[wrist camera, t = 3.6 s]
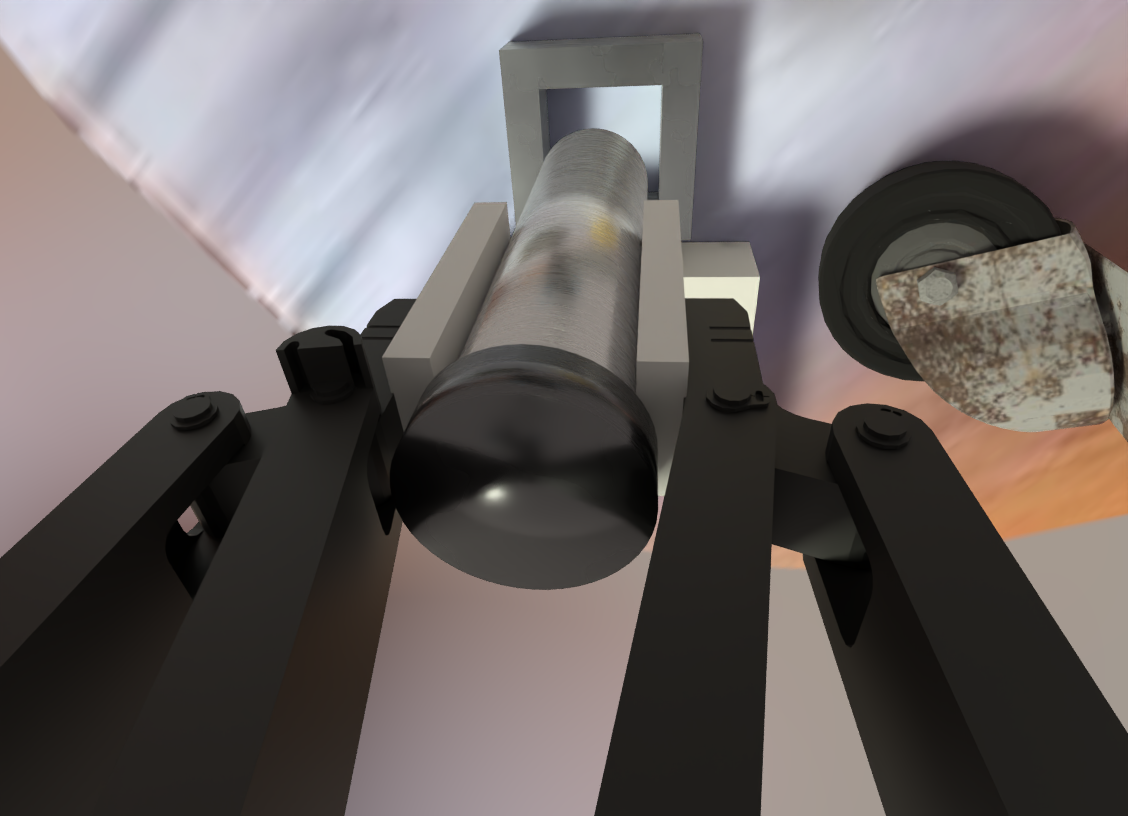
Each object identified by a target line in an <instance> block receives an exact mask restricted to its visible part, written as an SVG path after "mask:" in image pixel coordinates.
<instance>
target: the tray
mask: <svg viewBox="0 0 1128 816" xmlns="http://www.w3.org/2000/svg"><path fill="white" fill-rule="evenodd" d="M681 247H682V263H683V278H684V293H685V298H734V299H735V300H736V301H737V302H738V303H739V304H740V305H741V306H742V307H743V308H744V309H745V310H746V311H747V312H748V316H749V321H750V326H751V330H752V335H753V327H754V320H755V312H756V304H757V296H758V289H759V281H760V275H759V272H758V269H757V265H756V262H755V259H754V255H753V252H752V249H751V246H750V242H681Z"/></svg>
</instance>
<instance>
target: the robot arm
mask: <svg viewBox="0 0 1128 816" xmlns="http://www.w3.org/2000/svg"><path fill="white" fill-rule="evenodd" d="M510 239H511V237H510V228H509V219H508V210H507V202H491V203H474V204H473V206H472V208H471V209H470V211H469V213H468V214H467V216H466V218H465V219H464V221H463V223H462V224H461V226H460V228H459V229H458V231H457V233H456V234H455V236H454V238H453V240H452V241H451V243H450V245H449V246H448V248H447V250H446V251H445V253H444V255H443V256H442V258H441V260H440V261H439V263H438V265H437V266H436V268H435V270H434V271H433V273H432V275H431V276H430V278H429V280H428V281H427V283H426V285H425V286H424V288H423V290H422V291H421V293H420V295H419V296H418V298H417V299H394V300H392V301H391V302H389V303H388V304H386V305H385V306H383V307H382V308H380V309H379V310H377V311H376V312H375V314H374V315H373V317H372V318H371V320H370V321H369V323H368V324H367V328H365V329H364V330H363V332H362V333H361V335H360V334H359V333H358V332H357V331H356V330H354V329H351V328H348V327H345V326H324V327H318V328H312V329H309V330H306V331H303V332H300V333H298V334H295V335H294V336H292V337H290V338H289V339H287V340H285V341H284V342H283V343H282V344H281V345H280V346H279V347H278V348H277V349H276V352H277V355H278V358H279V360H280V363H281V366H282V369H283V371H284V374H285V377H286V380H287V382H288V385H289V388H290V390H291V393H292V394H291V397H290V399H289V401H288V403H287V405H286V406H283V407H279V408H273V409H268V410H262V411H257V412H251V413H246V414H245V412H244V410H243V408H242V405H241V403H240V401H239V400H238V399H237V398H236V397H235V396H234V395H233V394H230V393H226V392H221V391H217V392H202V393H197V394H193V395H190V396H186V397H185V398H183V399H181V400H179V401H177V402H175V403H172V404H171V405H169V406H168V407H167V408H165V409H164V410H162V411H161V412H160V413H158V414H157V415H156V416H155V417H154V418H153V419H152V420H151V421H150V422H148V423H147V424H146V425H145V426H144V427H143V428H142V429H141V430H140V431H139V432H138V433H136V434H135V435H134V436H133V437H132V438H131V439H130V440H129V441H128V442H127V443H126V444H124V445H123V446H122V447H121V448H120V449H119V450H118V451H117V452H116V453H115V454H114V455H112V456H111V457H110V458H109V459H108V460H107V461H106V462H105V463H104V464H103V465H102V466H100V467H99V468H98V469H97V470H96V471H95V472H94V473H93V474H92V475H91V476H90V477H88V478H87V479H86V480H85V481H84V482H83V483H82V484H81V485H80V486H79V487H78V488H76V489H75V490H74V491H73V492H72V493H71V494H70V495H69V496H68V497H67V498H65V500H63V501H62V502H61V503H60V504H59V505H58V506H57V507H56V508H55V509H54V510H52V511H51V512H50V513H49V514H48V515H47V516H46V517H45V518H44V519H43V520H42V521H40V522H39V523H38V524H37V525H36V526H35V527H34V528H33V529H32V530H31V531H29V532H28V534H26V535H25V536H24V537H23V538H22V539H21V540H20V541H19V542H17V543H16V544H15V545H14V546H13V547H12V548H11V549H10V550H9V551H8V552H7V553H6V554H4V555H3V556H2V557H1V558H0V816H344V815H345V810H346V804H347V799H348V795H349V790H350V784H351V780H352V774H353V769H354V764H355V759H356V754H357V749H358V744H359V739H360V734H361V729H362V723H363V719H364V714H365V708H366V703H367V698H368V693H369V688H370V683H371V678H372V673H373V668H374V663H375V658H376V653H377V648H378V643H379V638H380V633H381V628H382V622H383V618H384V613H385V607H386V602H387V597H388V591H389V587H390V582H391V577H392V572H393V567H394V562H395V557H396V552H397V547H398V541H399V537H400V531H401V527H402V519H401V517H400V515H399V514H398V512H397V509H396V507H395V504H394V502H393V499H392V494H391V489H390V468H391V461H392V459H393V456H394V453H395V450H396V448H397V446H398V444H399V442H400V439H401V437H402V435H403V433H404V431H405V429H406V427H407V425H408V423H409V420H410V418H411V416H412V414H413V412H414V410H415V408H416V406H417V404H418V402H419V399H420V397H421V396H422V394H423V392H424V390H425V389H426V387H427V385H428V384H429V383H430V382H431V381H432V379H433V378H434V377H435V376H436V375H437V374H438V373H439V372H440V371H442V370H443V369H444V368H445V367H446V366H448V365H449V364H451V363H453V362H454V361H456V360H457V359H459V358H460V356H461V353H462V351H463V349H464V346H465V344H466V342H467V339H468V337H469V335H470V332H471V330H472V328H473V326H474V323H475V321H476V319H477V316H478V314H479V312H480V309H481V307H482V305H483V302H484V300H485V298H486V295H487V293H488V291H489V288H490V286H491V284H492V281H493V279H494V277H495V274H496V272H497V270H498V267H499V265H500V263H501V260H502V258H503V256H504V253H505V251H506V249H507V246H508V244H509V242H510ZM636 395H637V396H638V397H639V399H640V400H641V401H642V403H643V404H644V406H645V408H646V409H647V411H648V413H649V414H650V417H651V419H652V422H653V424H654V427H655V431H656V436H657V442H658V496H664V501H663V505H662V510H661V514H660V519H659V524H658V528H657V533H656V537H655V542H654V546H653V551H652V555H651V560H650V564H649V569H648V574H647V578H646V583H645V587H644V592H643V597H642V601H641V606H640V610H639V614H638V619H637V624H636V628H635V633H634V637H633V642H632V647H631V651H630V655H629V660H628V664H627V669H626V674H625V678H624V683H623V687H622V692H621V696H620V701H619V706H618V710H617V715H616V719H615V724H614V728H613V733H612V737H611V742H610V746H609V751H608V755H607V760H606V765H605V769H604V774H603V778H602V783H601V788H600V792H599V797H598V801H597V805H596V810H595V815H594V816H760V814H761V791H762V766H763V742H764V718H765V691H766V669H767V644H768V643H767V642H768V619H769V618H768V617H769V594H770V570H771V547H772V544H773V545H777V546H780V547H783V548H787V549H790V550H793V551H796V552H800V553H803V561H804V564H805V567H806V570H807V573H808V576H809V579H810V582H811V585H812V588H813V591H814V595H815V598H816V601H817V604H818V607H819V610H820V613H821V616H822V619H823V623H824V625H825V629H826V632H827V635H828V638H829V641H830V644H831V647H832V650H833V653H834V656H835V660H836V663H837V666H838V669H839V672H840V675H841V678H842V681H843V684H844V687H845V691H846V693H847V697H848V700H849V703H850V706H851V709H852V712H853V715H854V718H855V721H856V724H857V728H858V731H859V734H860V737H861V740H862V743H863V746H864V749H865V752H866V755H867V758H868V762H869V765H870V768H871V771H872V774H873V777H874V780H875V783H876V786H877V789H878V792H879V796H880V798H881V802H882V805H883V808H884V811H885V814H886V816H1128V733H1127V731H1126V730H1125V728H1124V727H1123V725H1122V724H1121V722H1120V720H1119V719H1118V717H1117V716H1116V714H1115V713H1114V711H1113V710H1112V708H1111V707H1110V705H1109V704H1108V702H1107V700H1106V699H1105V698H1104V696H1103V695H1102V693H1101V691H1100V690H1099V688H1098V686H1097V685H1096V683H1095V682H1094V680H1093V679H1092V677H1091V676H1090V674H1089V673H1088V671H1087V669H1086V668H1085V666H1084V665H1083V663H1082V662H1081V660H1080V659H1079V657H1078V656H1077V654H1076V652H1075V651H1074V649H1073V648H1072V646H1071V645H1070V643H1069V642H1068V640H1067V638H1066V637H1065V635H1064V634H1063V632H1062V631H1061V629H1060V628H1059V626H1058V625H1057V623H1056V621H1055V620H1054V618H1053V617H1052V615H1051V614H1050V612H1049V611H1048V609H1047V608H1046V606H1045V605H1044V603H1043V601H1042V600H1041V598H1040V597H1039V595H1038V594H1037V592H1036V590H1035V589H1034V588H1033V586H1032V584H1031V583H1030V581H1029V580H1028V578H1027V577H1026V575H1025V573H1024V572H1023V570H1022V569H1021V567H1020V566H1019V564H1018V563H1017V561H1016V560H1015V558H1014V557H1013V555H1012V553H1011V552H1010V550H1009V549H1008V547H1007V546H1006V544H1005V543H1004V541H1003V539H1002V538H1001V536H1000V535H999V533H998V532H997V530H996V529H995V527H994V526H993V524H992V522H991V521H990V519H989V518H988V516H987V515H986V513H985V512H984V510H983V508H982V507H981V505H980V504H979V502H978V501H977V499H976V498H975V496H974V495H973V493H972V491H971V490H970V488H969V487H968V485H967V484H966V482H965V481H964V479H963V478H962V476H961V474H960V473H959V471H958V470H957V468H956V467H955V465H954V464H953V462H952V461H951V459H950V457H949V456H948V454H947V453H946V451H945V450H944V448H943V447H942V445H941V443H940V442H939V440H938V439H937V437H936V436H935V434H934V433H933V431H932V430H931V429H930V428H929V427H928V426H927V425H926V424H925V423H924V422H923V421H922V420H921V419H919V418H917V417H916V416H914V415H912V414H910V413H908V412H907V411H904V410H901V409H898V408H894V407H891V406H888V405H880V404H868V403H867V404H860V405H853V406H849V407H847V408H846V409H844V410H842V411H840V412H838V414H837V415H836V417H835V418H834V420H833V422H832V424H829V423H825V422H821V421H816V420H812V419H808V418H804V417H801V416H798V415H795V414H793V413H790V412H788V411H786V410H784V409H782V408H781V407H780V406H778V405H777V401H776V398H775V395H774V393H773V392H772V391H771V390H770V389H769V388H768V387H767V386H766V385H764V384H763V381H762V377H761V372H760V368H759V363H758V358H757V354H756V349H755V344H754V342H753V335H752V330H751V326H750V321H749V316H748V312H747V311H746V310H745V309H744V308H743V307H742V306H741V305H740V304H739V303H738V302H737V301H736V300H735V299H734V298H685V293H684V278H683V263H682V247H681V232H680V217H679V202H678V200H644V214H643V235H642V256H641V278H640V299H639V320H638V342H637V367H636ZM189 506H191V508H192V510H193V512H194V513H195V515H196V517H197V519H198V521H199V522H198V523H197V524H196V526H195V527H194V528H193V529H191V530H190V531H189V532H188V533H186V532H184V531H183V529H182V527H181V526H180V524H179V522H178V518H179V517H180V516H181V515H182V514H183V513H184V512H185V510H186V509H187V508H188V507H189Z"/></svg>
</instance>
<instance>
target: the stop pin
mask: <svg viewBox="0 0 1128 816" xmlns="http://www.w3.org/2000/svg"><path fill="white" fill-rule="evenodd" d="M647 189H648V180H647V172H646V168H645V165H644V162H643V160H642V158H641V156H640V154H639V153H638V151H637V150H636V149H635V148H634V146H633V145H632V144H631V143H630V142H628V141H627V140H626V139H625V138H623V137H622V136H620V135H618V134H616V133H614V132H611V131H608V130H603V129H594V128H591V129H583V130H579V131H576V132H573V133H570V134H569V135H567V136H565V137H564V138H562V139H561V140H560V141H558V142H557V143H556V144H555V145H554V146H553V147H552V149H551V150H550V151H549V153H548V155H547V156H546V158H545V160H544V163H543V165H542V167H541V170H540V172H539V174H538V177H537V179H536V181H535V184H534V186H533V188H532V191H531V193H530V195H529V198H528V200H527V202H526V205H525V207H524V209H523V212H522V214H521V216H520V219H519V221H518V223H517V225H516V228H515V230H514V232H513V235H512V237H511V239H510V242H509V244H508V246H507V249H506V251H505V253H504V256H503V258H502V260H501V263H500V265H499V267H498V270H497V272H496V274H495V277H494V279H493V281H492V284H491V286H490V288H489V291H488V293H487V295H486V298H485V300H484V302H483V305H482V307H481V309H480V312H479V314H478V316H477V319H476V321H475V323H474V326H473V328H472V330H471V332H470V335H469V337H468V339H467V342H466V344H465V346H464V349H463V351H462V353H461V356H460V358H459V359H457V360H456V361H454V362H453V363H451V364H449V365H448V366H446V367H445V368H444V369H443V370H442V371H440V372H439V373H438V374H437V375H436V376H435V377H434V378H433V379H432V381H431V382H430V383H429V384H428V385H427V387H426V389H425V390H424V392H423V394H422V396H421V397H420V399H419V402H418V404H417V406H416V408H415V410H414V412H413V414H412V416H411V418H410V420H409V423H408V425H407V427H406V429H405V431H404V433H403V435H402V437H401V439H400V442H399V444H398V446H397V448H396V450H395V453H394V456H393V459H392V461H391V468H390V489H391V494H392V499H393V502H394V504H395V507H396V509H397V512H398V514H399V515H400V517H401V519H402V521H403V522H404V524H405V525H406V527H407V528H408V529H409V531H410V532H411V533H412V534H413V535H414V536H415V537H416V539H418V541H419V542H420V543H421V544H422V545H423V546H425V547H426V548H427V549H428V550H429V551H430V552H432V553H433V554H434V555H436V556H437V557H439V558H440V559H441V560H443V561H445V562H446V563H448V564H450V565H451V566H453V567H455V568H457V569H458V570H461V571H463V572H465V573H467V574H469V575H472V576H474V577H477V578H480V579H483V580H486V581H489V582H493V583H496V584H500V585H505V586H510V587H516V588H525V589H539V590H551V589H564V588H570V587H577V586H581V585H585V584H588V583H592V582H595V581H598V580H600V579H603V578H605V577H608V576H610V575H612V574H613V573H615V572H617V571H619V570H620V569H621V568H623V567H625V566H626V565H627V564H629V563H630V562H631V561H632V560H633V559H634V558H635V557H636V556H638V555H639V554H640V552H641V551H642V550H643V549H644V547H645V546H646V545H647V543H648V541H649V539H650V537H651V536H652V534H653V531H654V528H655V525H656V521H657V514H658V442H657V436H656V431H655V427H654V424H653V422H652V419H651V417H650V414H649V413H648V411H647V409H646V408H645V406H644V404H643V403H642V401H641V400H640V399H639V397H638V396H637V395H636V367H637V342H638V320H639V299H640V278H641V256H642V235H643V214H644V200H647Z"/></svg>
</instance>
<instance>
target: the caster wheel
mask: <svg viewBox="0 0 1128 816" xmlns="http://www.w3.org/2000/svg"><path fill="white" fill-rule="evenodd" d="M818 280H819V300H820V306H821V309H822V313H823V316H824V320H825V323H826V325H827V326H828V328H829V330H830V332H831V334H832V336H833V338H834V339H835V340H836V341H837V343H838V344H839V345H840V346H841V348H842V349H843V350H844V351H845V352H846V353H848V354H849V355H850V356H851V357H852V358H853V359H855V360H856V361H858V362H859V363H860V364H862V365H864V366H865V367H867V368H869V369H872V370H874V371H876V372H879V373H881V374H883V375H887V376H891V377H895V378H898V379H902V380H912V381H925V382H926V383H927V384H928V385H929V386H930V388H931V389H932V390H933V391H934V392H935V393H936V394H938V395H939V396H940V397H941V398H942V399H944V400H945V401H946V402H947V403H949V404H950V405H952V406H953V407H955V408H956V409H958V410H959V411H961V412H963V413H965V414H966V415H968V416H970V417H972V418H974V419H977V420H979V421H982V422H984V423H987V424H990V425H993V426H997V427H1000V428H1004V429H1009V430H1014V431H1022V432H1040V431H1048V430H1056V429H1065V428H1073V427H1081V426H1089V425H1097V424H1101V423H1104V422H1105V421H1107V420H1108V419H1110V421H1111V422H1112V423H1113V424H1114V426H1115V427H1116V428H1117V429H1118V431H1119V432H1120V433H1121V434H1122V435H1123V437H1124V438H1125V439H1126V440H1127V442H1128V273H1127V272H1126V271H1124V270H1123V269H1122V268H1120V267H1119V266H1117V265H1116V264H1114V263H1113V262H1111V261H1110V260H1109V259H1107V258H1106V257H1104V256H1103V255H1101V254H1100V253H1098V252H1097V251H1095V250H1094V249H1093V248H1091V247H1090V246H1088V245H1087V244H1085V243H1084V242H1083V241H1082V239H1081V237H1080V235H1079V233H1078V231H1077V229H1076V227H1075V225H1074V224H1073V223H1072V222H1071V221H1068V220H1066V219H1060V218H1054V217H1053V215H1052V214H1051V212H1050V210H1049V208H1048V207H1047V206H1046V205H1045V204H1044V203H1043V202H1042V201H1041V200H1040V199H1039V198H1038V197H1036V196H1035V195H1034V194H1033V193H1032V192H1031V191H1030V190H1028V189H1027V188H1025V187H1024V186H1023V185H1021V184H1020V183H1018V182H1017V181H1015V180H1014V179H1012V178H1010V177H1008V176H1006V175H1004V174H1002V173H1000V172H998V171H996V170H994V169H992V168H989V167H985V166H982V165H978V164H975V163H968V162H960V161H935V162H926V163H922V164H918V165H914V166H911V167H907V168H905V169H902V170H900V171H897V172H895V173H892V174H890V175H888V176H885V177H884V178H882V179H881V180H879V181H878V182H876V183H874V184H873V185H871V186H870V187H868V188H866V189H865V190H864V191H863V192H862V193H860V194H859V195H858V196H857V197H856V198H855V199H853V200H852V201H851V202H850V204H849V205H848V206H847V207H846V208H845V210H844V211H843V212H842V213H841V214H840V215H839V217H838V218H837V220H836V222H835V224H834V225H833V227H832V229H831V231H830V232H829V234H828V236H827V238H826V241H825V244H824V247H823V250H822V255H821V261H820V266H819V277H818Z"/></svg>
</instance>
